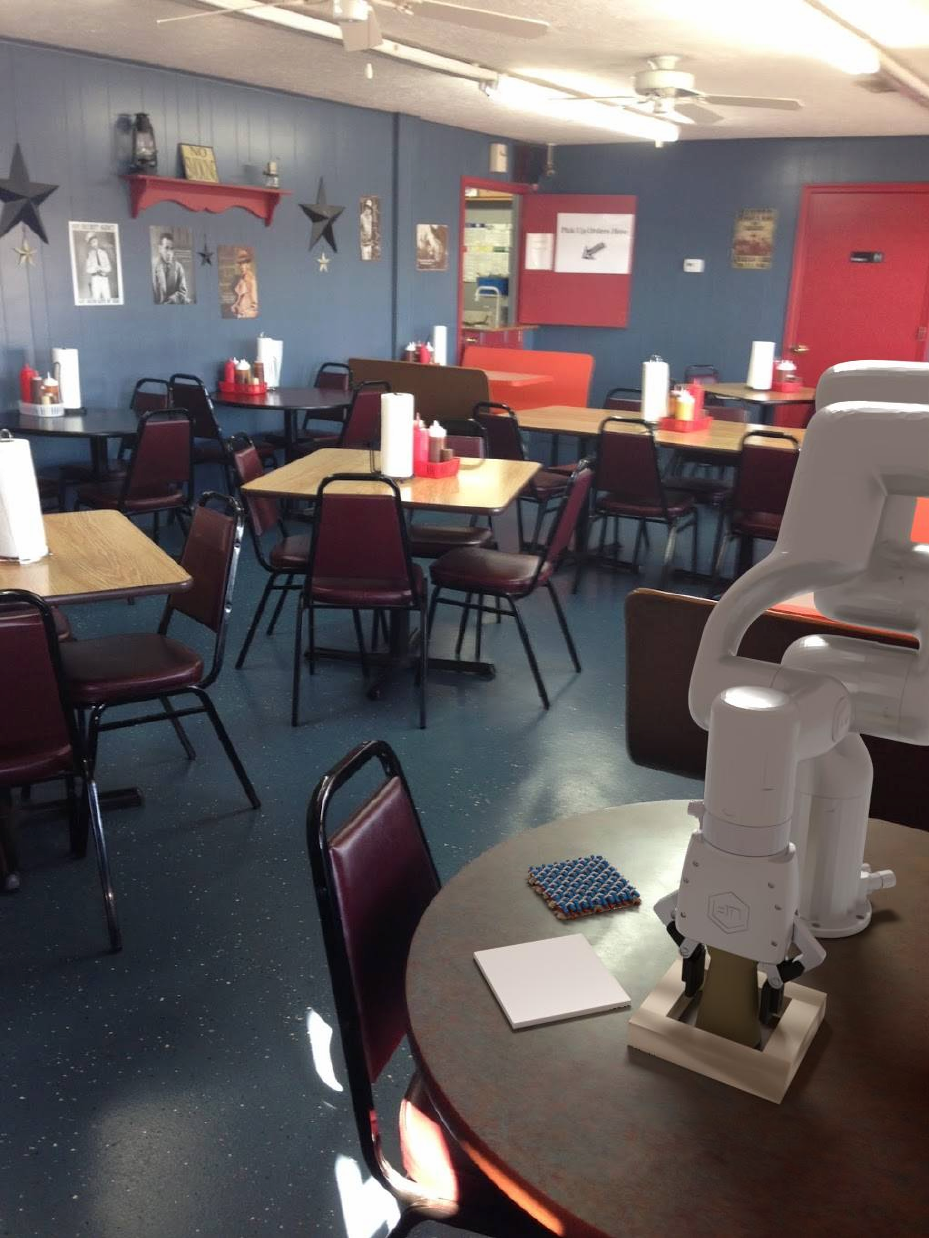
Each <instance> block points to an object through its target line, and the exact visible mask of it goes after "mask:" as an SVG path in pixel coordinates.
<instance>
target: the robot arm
mask: <svg viewBox="0 0 929 1238" xmlns="http://www.w3.org/2000/svg"><path fill="white" fill-rule="evenodd" d="M814 397H815V400H814V401H815V413H814V414H813V416H811V419H810V420H809V422H808V424H807V427H806V429H805V432H804V435H803V439H802V443H801V447H800V451H799V455H798V458H797V463H796V464H795V465H796V467H795V470H794V473H793V477H792V482H791V486H790V489H789V493H788V497H787V501H786V506H785V509H784V513H783V516H782V519H781V523H780V528H779V532H778V536H777V540H776V543H775V546H774V547H773V550H772V551H771V552H770V553H769V554H768V555H767V556H766V557H765V558H764V559H762V560H760V561H759V562H758V563H756V564H755V565H754V566H752V567H751V568H750V569H748V570H747V571H745V573H744V574H742V575H741V576H740V577H739V578H738V579H737V580H736V581H735V582H734V583H733V584H732V585H730V587H729V588H728V589H727V591H726V592H725V593H724V594H723V595H722V596H721V598H720V599H719V600H718V602H717V603H716V604H715V606H714V607H713V610H712V611H711V613H710V614H709V616H708V619H707V621H706V623H705V625H704V628H703V632H702V636H701V639H700V642H699V647H698V650H697V654H696V657H695V662H694V665H693V669H692V673H691V677H690V682H689V688H688V698H687V699H688V709H689V713H690V715H691V717H692V720H693V721H694V722H695V723H696V725H698V726H699V728H701V729H703V730H705V731H707V732H708V738H707V739H708V740H707V751H706V765H705V766H706V767H705V768H706V769H705V777H704V778H705V779H704V792H703V800H698V801H696V800H692V799H691V800H690V801H689V802H688V805H687V811H686V812H687V815H689V816H693V817H694V818H696V819H698V823H699V826H698V827H697V828H696V829H694V830H693V832H692V833H691V836H690V838H689V842H688V844H687V848H686V852H685V857H684V861H683V864H682V865H683V866H682V869H681V876H680V881H679V887H678V888H677V889H676V890H674V891H672V892H670V893H668V894H667V895H665V896H663V897H661V898H660V899H658V901H657V902H656V903H654V905H653V908H652V909H653V910H652V911H654V913H655V915H656V916H657V917H658V919H659V920H660V922H661V923H662V925H664V926H665V927H666V928H665V929H666V932H667V934H668V935H669V936H670V937H671V940H672V941H673V942H674V943H675V944H676V946H677V947H678V949H677V952H678V954H679V956H680V955H681V956H682V957H683V963H682V977H681V980H682V981H683V982H685V997H688V998H691V997H693V998H694V997H695V996H696V995H697V993H698V992H699V991H700V990H699V988H700V987H701V985H702V984H703V981H704V970H705V958H706V954H707V948H706V947H707V946H710V947H713V948H716V949H719V950H722V951H725V952H729V953H731V954H734V955H737V956H740V957H744V958H747V959H750V960H753V961H756V962H760V964H762V967H763V969H764V973H766V975H767V979H766V980H765V982H764V984H763V986H762V991H761V1002H760V1012H759V1021H760V1023H761V1024H762V1025H764V1026H767V1025H768V1023H769V1022H770V1020H771V1018H772V1017H773V1013H775V1014H779V1013H780V1011H781V1008H782V1005H783V996H784V987H785V983H787V982H789V981H790V982H792V980H796V979H797V978H798V977H800V976H801V977H802V975H803V973H806V972H809V971H810V970H812V969H814V968H817V967H819V966H820V965H822V964H823V962H824V960H825V958H826V956H827V952H826V950H825V949H824V948H823V946H822V945H821V943H819V941H818V940H817V938H822V939H836V938H844V937H849V936H852V935H856V934H858V933H860V932H861V931H864V930H865V928H867V927H868V925H869V924H870V922H871V918H872V913H873V911H872V905H871V902H870V900H869V899H868V898H867V895H870V894H872V893H873V892H874V890H882V889H888V888H889V889H890V888H892V887H895V886H896V885H897V878H896V875H895V873H894V872H893V871H892V870H891V869H884V870H879V871H875V872H872V868H871V865H870V864H869V863H867V862H864V863H863V860H864V853H865V846H866V845H865V843H866V838H867V836H866V835H867V829H868V819H869V814H870V813H869V812H870V811H869V810H870V806H871V805H870V804H871V795H872V788H873V781H874V780H873V779H874V767H873V763H872V758H871V755H870V752H869V750H868V748H867V746H866V745H865V742H864V741H863V739H862V737H861V736H860V734H864V735H868V736H873V737H877V738H882V739H888V740H892V741H895V742H902V743H907V744H911V745H917V746H929V543H928V542H919V541H912V537H911V536H912V531H913V530H912V529H913V526H914V525H913V524H914V519H915V515H916V510H917V506H918V498H922V499H929V362H927V361H906V360H905V361H904V360H888V359H887V360H883V359H881V360H880V359H879V360H878V359H877V360H876V359H875V360H874V359H868V360H867V359H865V360H864V359H863V360H853V361H846V362H841V363H837V364H835V365H832V366H830V367H828V368H827V369H826V370H825V371H824V372H823V373H822V374H821V375H820V377H819V379H818V383H817V385H816V389H815V396H814ZM811 593H813V602H814V607H815V609H816V610H817V611H818V614H820V615H822V616H823V617H824V618H826V619H829V620H830V621H834V622H836V623H842V624H847V625H851V626H855V627H860V628H861V627H862V628H866V629H871V630H872V629H873V630H877V631H878V630H879V631H884V632H891V633H898V634H901V635H903V634H904V635H909V636H912V637H914V638H916V639H917V640H918V643H919V649H918V648H917V649H916V648H910V647H906V646H899V645H893V644H892V645H891V644H887V643H881V642H878V641H874V640H873V641H872V640H866V639H861V638H855V637H854V638H853V637H850V636H844V635H835V634H834V635H833V634H827V633H826V634H818V633H817V634H810V635H806V636H805V635H804V636H802V637H799V638H798V639H797V640H795V641H793V642H792V643H791V644H790V645H789V646H788V647H787V649H786V650H785V652H784V654H783V656H782V659H781V662H780V663H775V662H770V661H766V660H758V659H753V658H748V657H743V656H737V655H738V654H737V653H738V650H739V647H740V644H741V642H742V639H743V637H744V635H745V633H746V631H748V629H749V627H750V625H752V623H753V622H754V621H756V620H757V618H759V617H760V616H761V615H762V614H764V613H765V612H767V611H768V610H769V609H771V608H774V607H775V606H777V605H780V604H781V603H783V602H786V601H788V600H791V599H793V598H794V599H795V598H796V597H797V598H798V597H800V596H803V595H808V594H811ZM792 943H794V944H795V945H796V946H797V947H798V949H799V951H801V954H797V955H794V956H793V957H791V958H788V953H789V949H790V946H791V944H792ZM706 945H707V946H706ZM705 946H706V947H705ZM697 991H698V992H697ZM696 992H697V993H696ZM695 994H696V995H695ZM694 995H695V996H694Z"/></svg>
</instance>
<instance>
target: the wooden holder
mask: <svg viewBox="0 0 929 1238" xmlns="http://www.w3.org/2000/svg"><path fill="white" fill-rule="evenodd" d="M710 959H711V957H710V956H709V954H708V953H706V958H705V970H704V981H703V984H702V985H701V987H700V988H699V990H698V991H697V992H696V994H695V995H694V997H695V996H696V995H697V993H698V992H699V991H702V992H703V989H704V984H705V980H706V976H707V972H708V967H709V963H710ZM682 963H683V957H682V956H681V955H680V954H679V955H678V957H677V958H676V960H675V961H674V962H673V964H672V965H671V966H670V967H669V968H668V970H667V971H666V973H665V974H664V975H663V976H662V978H661V979H660V980H659V982H658V983H657V984H656V985H655V987H654V988H653V989H652V990H651V992H650V993H649V994H648V996H647V997H646V998H645V1000H644V1001H643V1002H642V1003H641V1004H640V1005H639V1007H638V1009H637V1010H636V1011H635V1013H633V1015H632V1016H631V1018H630V1019H629V1020H628V1025H627V1041H626V1042H627V1043H626V1045H627V1044H628V1045H627V1046H629V1045H630V1046H629V1047H631V1046H633V1047H632V1048H634V1049H636V1048H637V1049H636V1050H639V1049H640V1050H639V1051H642V1052H644V1053H647V1054H649V1053H650V1055H651V1056H654V1055H655V1056H654V1057H657V1058H659V1059H662V1060H665V1061H668V1062H670V1063H673V1064H674V1065H678V1066H680V1067H681V1068H682V1067H683V1068H685V1069H688V1070H691V1071H693V1072H695V1073H698V1074H701V1075H703V1076H706V1077H708V1078H709V1079H710V1078H711V1079H713V1080H716V1081H719V1082H721V1083H724V1084H726V1085H728V1086H731V1087H734V1088H736V1089H740V1090H741V1091H744V1092H747V1093H748V1094H752V1095H755V1096H757V1097H759V1098H762V1099H765V1100H767V1101H770V1102H772V1103H775V1104H777V1105H781V1103H782V1100H783V1099H784V1097H785V1095H786V1093H787V1091H788V1089H789V1086H790V1085H791V1083H792V1081H793V1079H794V1077H795V1075H796V1073H797V1071H798V1070H799V1067H800V1065H801V1063H802V1061H803V1059H804V1057H805V1055H806V1053H807V1051H808V1049H809V1047H810V1046H811V1044H812V1042H813V1040H814V1038H815V1035H816V1034H817V1032H818V1029H819V1027H820V1026H821V1024H822V1021H823V1020H824V1018H825V1014H826V1013H825V1012H826V1006H827V1005H826V1004H827V996H828V994H827V993H826V992H822V991H820V990H817V989H814V988H810V987H807V986H804V985H801V984H798V983H795V982H793V981H789V982H787V983H785V987H784V996H783V1005H782V1008H781V1011H780V1013H779V1014H775V1013H773V1015H772V1017H773V1016H774V1017H777V1018H780V1020H779V1022H778V1024H777V1025H776V1028H775V1029H774V1030H773V1032H772V1034H771V1036H770V1038H769V1039H768V1042H767V1043H766V1045H765V1047H764V1049H763V1051H760V1050H758V1049H755V1048H750V1047H747V1046H744V1045H741V1044H739V1043H736V1042H733V1041H731V1040H728V1039H725V1038H722V1037H720V1036H717V1035H714V1034H712V1033H709V1032H706V1031H703V1030H701V1029H698V1028H695V1026H692V1025H689V1024H687V1023H685V1022H682V1021H678V1020H679V1018H681V1016H682V1015H683V1013H684V1011H685V1010H686V1009H687V1008H688V1006H689V1005H690V1003H691V1002H692V1000H693V999H694V997H691V998H688V997H685V982H683V981H682V980H681V977H682ZM766 979H767V975H766V972H762V971H760V970H758V987H759V1005H760V1002H761V991H762V986H763V984H764V982H765V980H766Z"/></svg>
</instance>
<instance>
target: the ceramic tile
mask: <svg viewBox="0 0 929 1238" xmlns="http://www.w3.org/2000/svg"><path fill="white" fill-rule="evenodd" d="M473 958H474V960H475V962H476V965H477V966H478V967H479V969H480V971H481V973H482V975H483V977H484V978H485V980H486V981H487V983H488V985H489V987H490V989H491V992H492V993H493V994H494V997H495V998H496V1000H497V1002H498V1003H499V1005H500V1008H501V1009H502V1011H503V1012H504V1014H505V1016H506V1018H507V1019H508V1021H509V1023H510V1025H511V1027H512V1029H513V1030H516V1029H521V1028H526V1027H530V1026H537V1025H540V1024H545V1023H550V1022H555V1021H560V1020H565V1019H570V1018H575V1017H580V1016H586V1015H591V1014H596V1013H600V1012H605V1011H610V1009H611V1010H614V1009H613V1008H616V1009H618V1008H617V1007H621V1008H625V1007H624V1006H626V1007H628V1006H627V1005H631V1006H632V999H631V998H630V996H629V995H628V994H627V993H626V991H625V990H624V988H623V987H622V986H621V984H620V983H619V982H618V980H617V979H616V978H615V977H614V975H613V974H612V972H611V971H610V970H609V968H608V967H607V965H606V964H605V963H604V962H603V961H602V958H600V956H599V955H598V954H597V952H596V951H595V949H594V948H593V947H592V945H591V944H590V942H588V940H587V939H586V938H585V936H584V935H583V933H582V932H581V933H576V934H570V935H564V936H558V937H552V938H546V939H540V940H536V941H528V942H523V943H518V944H512V945H506V946H501V947H495V948H490V949H484V950H479V951H474V952H473Z"/></svg>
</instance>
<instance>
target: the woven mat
mask: <svg viewBox="0 0 929 1238" xmlns="http://www.w3.org/2000/svg"><path fill="white" fill-rule="evenodd" d="M577 859H578V860H577ZM577 859H573V860H571V861H570V859H567V860H565V862H564V861H562V862H560V863H558V861H555V862H553V864H547V866H546V864H545V863H542V864H541V866H536V867H535V869H534V867H533V866H529V869H528V870H527V873H526V874H527V876H528V877H524V879H525V880H526V881H528V883H529V884H530V885H533V884H534V885H535V886H532V889H533V890H535V891H536V893H538V894H540V895H541V894H542V895H543V896H542V898H543V899H544V900H545V899H547V900H546V902H547V904H548V907H549V908H550V909H556V910H554V911H552V913H553V915H554V914H557V918H558V919H560V920H567V918H568V919H573V920H574V919H575V918H576V917H582V916H588V915H591V914H592V913H593V914H595V913H597V914H598V913H602V912H606V910H607V911H610V909H612V910H616V908H617V909H620V908H619V907H622V908H625V906H626V907H630V905H632V906H633V905H634V906H639V905H641V903H642V902H643V901H642V898H640V897H641V894H640V893H639V892H638V890H636V889H637V888H636V886H633V885H630V884H629V883H630V880H629V879H628V880H627V879H625V878H624V877H625V876H624V875H623V874H622V875H621V873H620V872H619V871H618V868H615V867H614V866H612V865H610V864H611V862H609V861H608V860H607V858H606V857H604V858H603V856H602V855H596V856H594V854H592V855H590V857H585V858H582V857H578V858H577ZM623 899H624V900H623ZM614 908H615V909H614ZM604 910H605V911H604Z"/></svg>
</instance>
